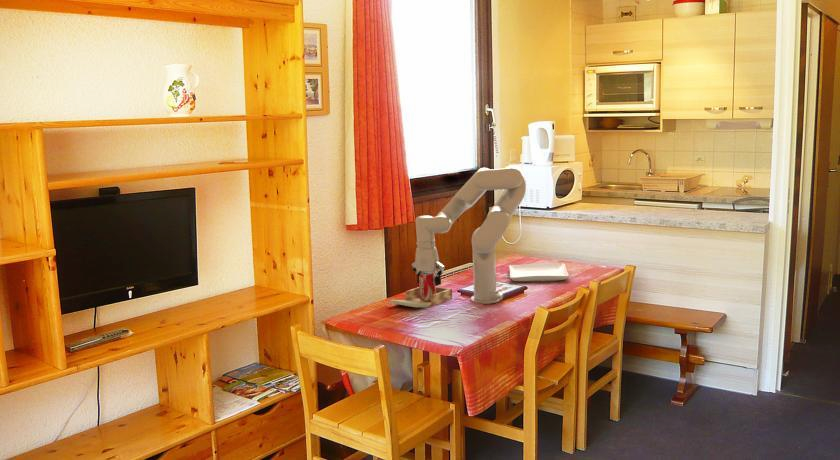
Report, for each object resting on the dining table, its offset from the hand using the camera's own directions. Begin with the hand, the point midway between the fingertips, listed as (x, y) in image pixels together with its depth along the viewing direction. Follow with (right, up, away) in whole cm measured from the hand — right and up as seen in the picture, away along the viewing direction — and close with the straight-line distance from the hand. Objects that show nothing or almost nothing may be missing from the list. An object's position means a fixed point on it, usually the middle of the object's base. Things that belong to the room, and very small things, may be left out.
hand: (429, 283), depth 329 cm
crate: (0, -8, +1) cm, 8 cm away
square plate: (+52, 0, +38) cm, 65 cm away
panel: (-5, -8, -4) cm, 10 cm away
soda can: (-1, -7, +2) cm, 7 cm away
